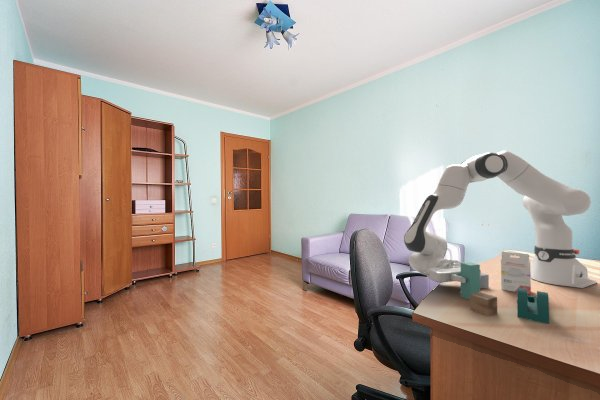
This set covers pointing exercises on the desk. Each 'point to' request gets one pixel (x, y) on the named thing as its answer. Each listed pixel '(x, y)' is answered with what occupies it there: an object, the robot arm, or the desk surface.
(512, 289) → the ink cartridge box
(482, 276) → the slate grey block
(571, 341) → the desk surface
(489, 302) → the walnut block
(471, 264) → the teal block
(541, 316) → the bracket
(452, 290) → the desk surface
